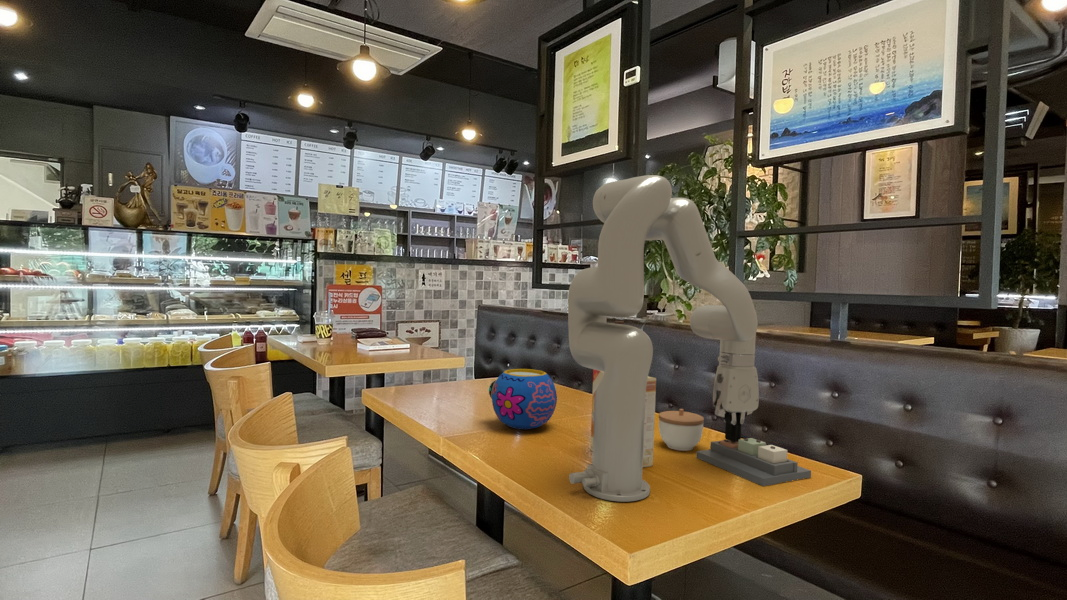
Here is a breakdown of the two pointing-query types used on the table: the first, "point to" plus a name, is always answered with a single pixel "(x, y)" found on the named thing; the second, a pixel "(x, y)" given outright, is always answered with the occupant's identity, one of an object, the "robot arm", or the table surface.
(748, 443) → the tile two
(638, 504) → the table surface
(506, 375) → the ceramic pot
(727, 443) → the tile three
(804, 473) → the board
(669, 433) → the lidded jar
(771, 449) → the tile one
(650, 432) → the coffeecake box
